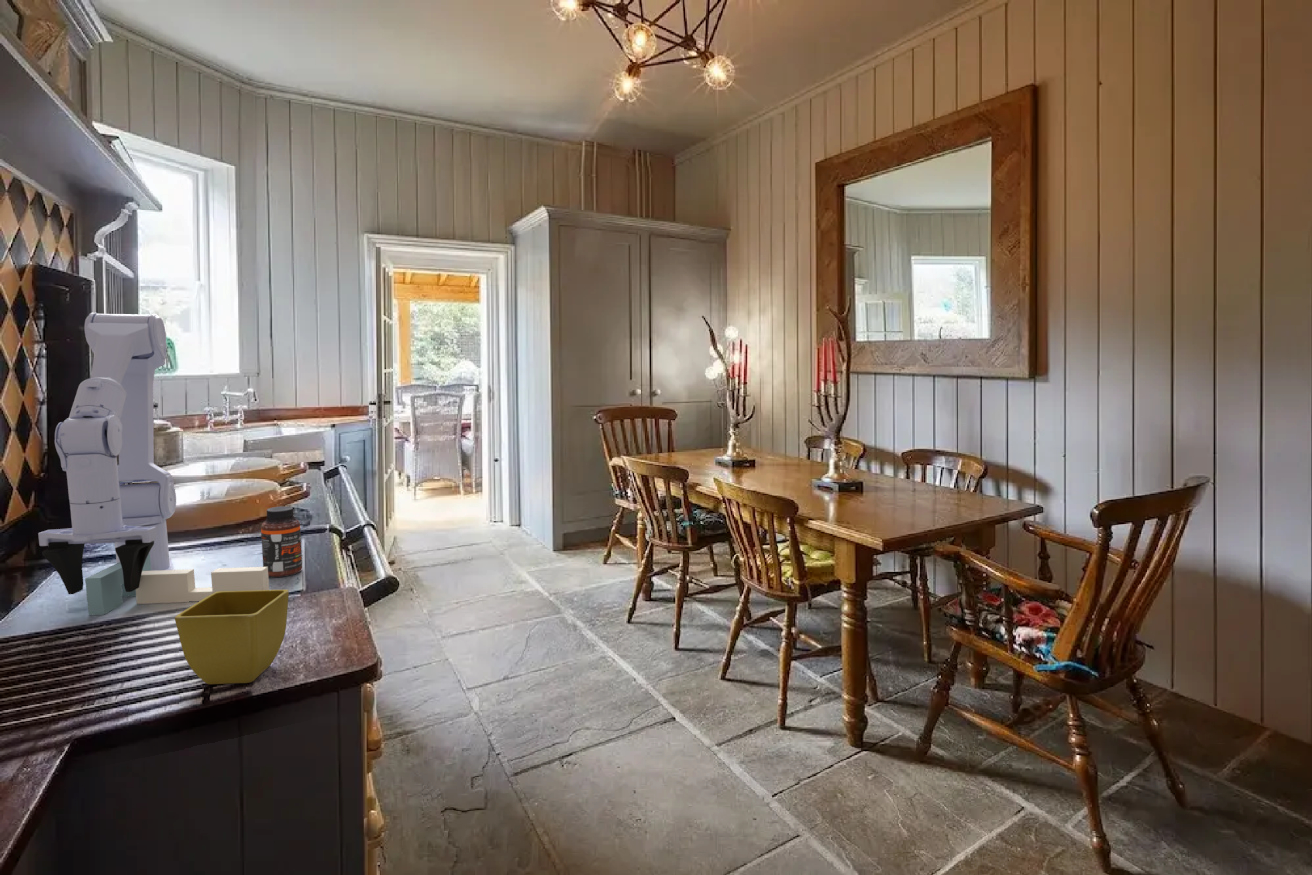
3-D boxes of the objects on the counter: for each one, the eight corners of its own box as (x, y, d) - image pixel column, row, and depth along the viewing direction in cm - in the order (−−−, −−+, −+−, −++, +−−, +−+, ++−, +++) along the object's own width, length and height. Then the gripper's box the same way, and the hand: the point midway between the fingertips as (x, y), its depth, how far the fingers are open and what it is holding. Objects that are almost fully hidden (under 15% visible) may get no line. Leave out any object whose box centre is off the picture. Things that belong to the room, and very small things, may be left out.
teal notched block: (139, 587, 111) (136, 554, 110) (152, 586, 111) (149, 553, 111) (88, 615, 99) (85, 578, 98) (104, 614, 99) (100, 577, 99)
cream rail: (136, 604, 104) (134, 575, 103) (144, 599, 106) (142, 570, 105) (264, 598, 106) (262, 570, 105) (269, 594, 108) (267, 566, 107)
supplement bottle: (286, 579, 115) (281, 513, 114) (255, 577, 116) (250, 511, 115) (310, 568, 121) (306, 505, 119) (281, 566, 122) (276, 503, 121)
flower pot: (221, 659, 85) (216, 589, 84) (294, 657, 86) (290, 588, 85) (178, 694, 76) (172, 617, 75) (260, 691, 77) (255, 615, 76)
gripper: (18, 507, 94) (28, 602, 96) (133, 504, 96) (141, 598, 98) (55, 497, 101) (64, 585, 103) (162, 494, 103) (169, 581, 105)
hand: (104, 590), depth 101 cm, fingers open, 7 cm apart
